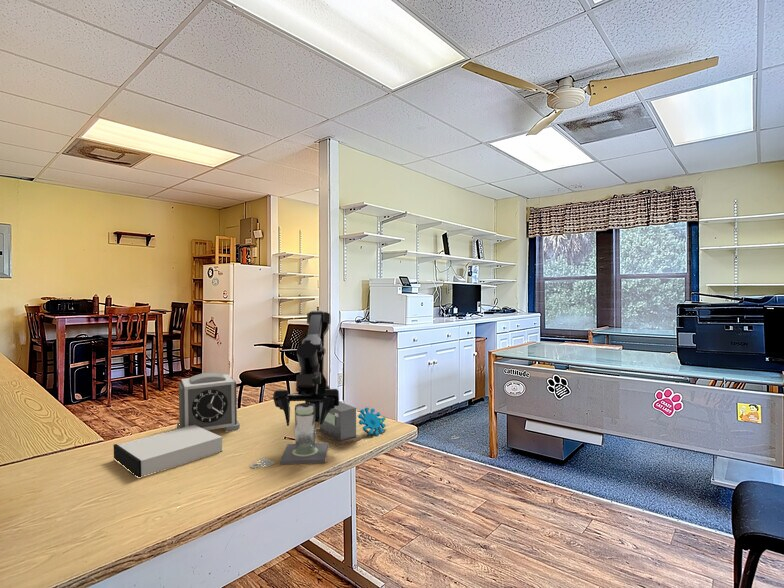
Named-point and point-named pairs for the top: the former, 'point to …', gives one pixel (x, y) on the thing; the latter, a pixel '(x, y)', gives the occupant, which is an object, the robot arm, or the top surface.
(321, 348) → the robot arm
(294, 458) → the pad
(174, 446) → the disc drive
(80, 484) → the top surface
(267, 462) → the mounting bracket
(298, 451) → the canister
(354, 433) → the control unit
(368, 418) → the gear
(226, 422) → the alarm clock
